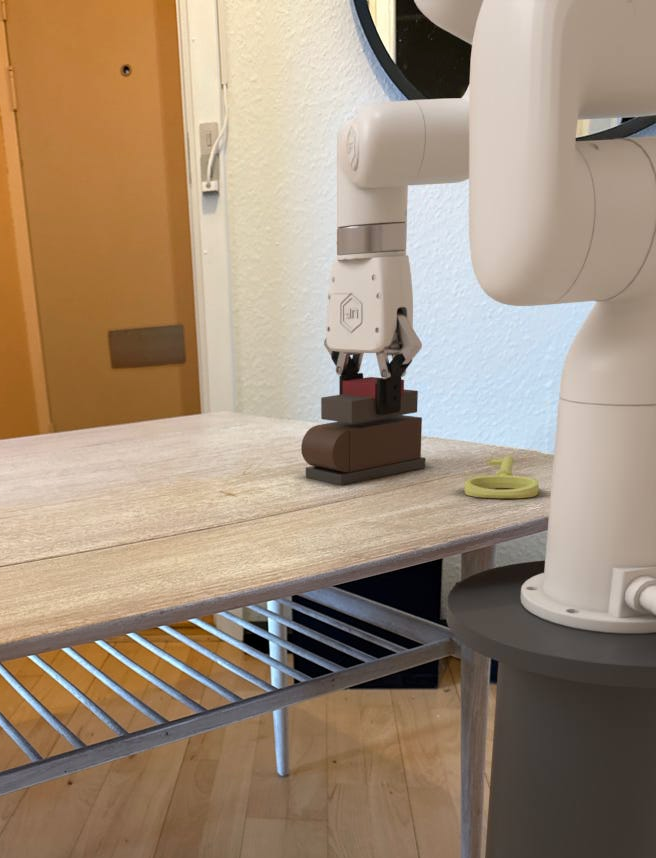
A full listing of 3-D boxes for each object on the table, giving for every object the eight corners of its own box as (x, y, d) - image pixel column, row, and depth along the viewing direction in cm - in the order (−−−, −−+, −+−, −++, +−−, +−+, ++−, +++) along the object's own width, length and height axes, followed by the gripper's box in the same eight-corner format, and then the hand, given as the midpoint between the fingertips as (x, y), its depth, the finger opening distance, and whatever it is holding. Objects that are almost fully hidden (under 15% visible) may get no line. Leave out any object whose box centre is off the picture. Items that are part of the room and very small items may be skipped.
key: (511, 473, 104) (512, 454, 103) (543, 498, 93) (545, 477, 92) (446, 476, 105) (447, 457, 104) (471, 501, 94) (472, 481, 93)
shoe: (335, 486, 104) (334, 433, 102) (299, 478, 109) (298, 427, 107) (425, 467, 110) (427, 417, 108) (387, 460, 116) (388, 412, 113)
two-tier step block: (352, 423, 103) (352, 387, 102) (320, 419, 108) (320, 384, 106) (418, 412, 108) (419, 377, 106) (384, 408, 112) (385, 374, 111)
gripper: (296, 250, 106) (299, 409, 113) (400, 240, 92) (396, 422, 99) (346, 247, 110) (346, 401, 116) (454, 237, 96) (447, 413, 102)
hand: (369, 409), depth 108 cm, fingers closed on two-tier step block, 5 cm apart
